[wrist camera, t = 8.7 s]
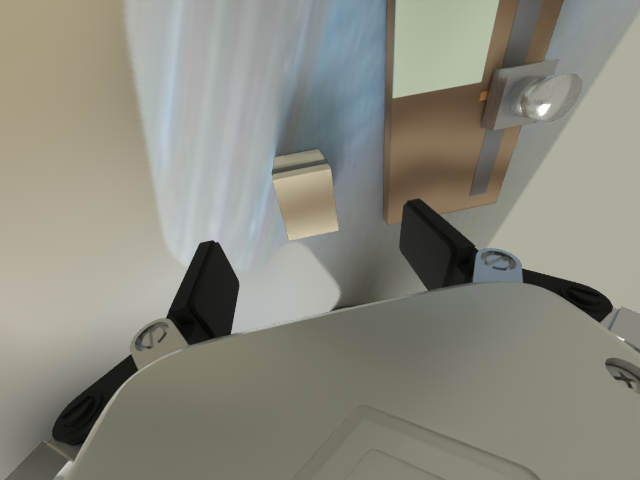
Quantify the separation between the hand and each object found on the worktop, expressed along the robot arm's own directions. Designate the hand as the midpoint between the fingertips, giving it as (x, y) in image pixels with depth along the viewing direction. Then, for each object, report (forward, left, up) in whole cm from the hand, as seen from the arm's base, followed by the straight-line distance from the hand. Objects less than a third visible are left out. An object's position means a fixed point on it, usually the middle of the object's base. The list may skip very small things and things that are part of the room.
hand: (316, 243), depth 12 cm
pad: (+8, -12, -10) cm, 17 cm away
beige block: (-1, 0, -12) cm, 12 cm away
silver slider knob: (+3, -18, -10) cm, 20 cm away
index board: (+3, -14, -12) cm, 18 cm away
